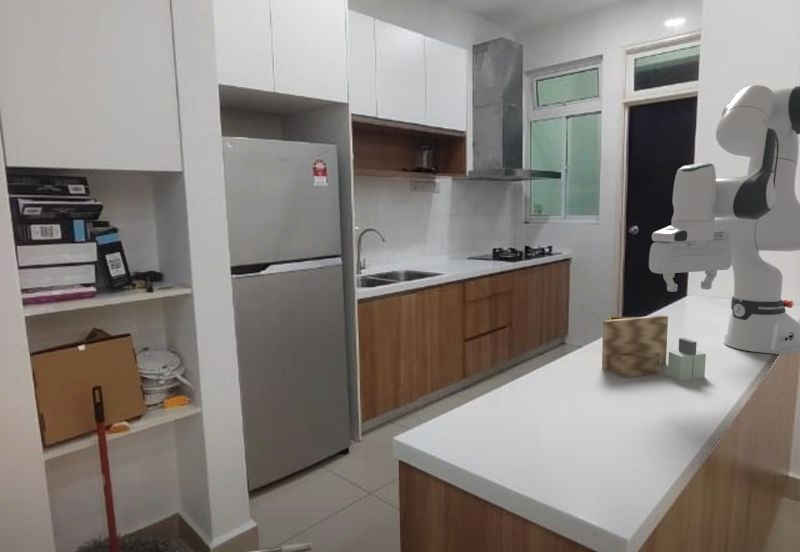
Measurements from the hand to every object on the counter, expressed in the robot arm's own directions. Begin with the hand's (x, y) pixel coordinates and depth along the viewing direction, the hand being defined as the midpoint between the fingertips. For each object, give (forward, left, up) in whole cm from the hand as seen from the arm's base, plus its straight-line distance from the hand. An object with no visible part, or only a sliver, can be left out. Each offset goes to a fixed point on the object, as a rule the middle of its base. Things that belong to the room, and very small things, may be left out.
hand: (689, 290), depth 119 cm
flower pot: (0, -23, -22) cm, 32 cm away
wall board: (+7, -7, -22) cm, 24 cm away
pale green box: (0, 0, -22) cm, 22 cm away
